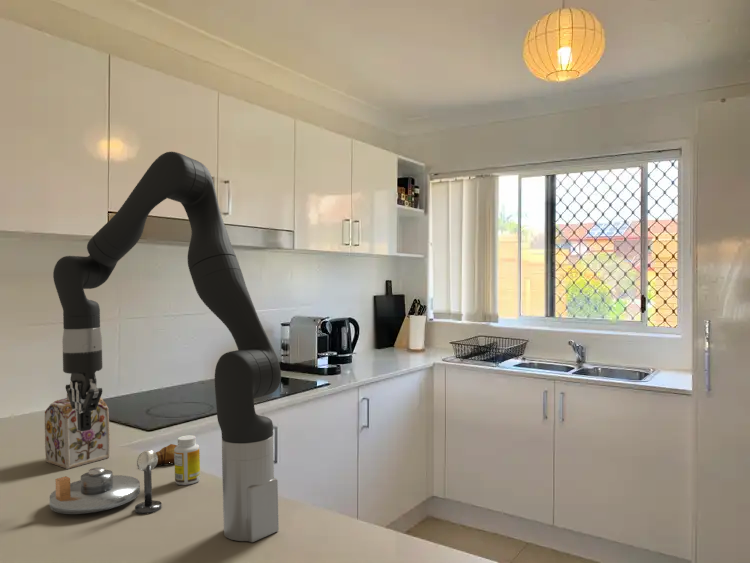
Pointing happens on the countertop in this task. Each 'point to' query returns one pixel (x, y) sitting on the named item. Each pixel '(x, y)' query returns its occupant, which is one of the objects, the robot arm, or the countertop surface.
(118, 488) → the turntable
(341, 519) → the countertop surface
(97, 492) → the cover
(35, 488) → the countertop surface
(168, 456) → the croissant
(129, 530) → the countertop surface
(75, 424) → the decorative jar
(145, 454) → the dial stand
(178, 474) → the supplement bottle
